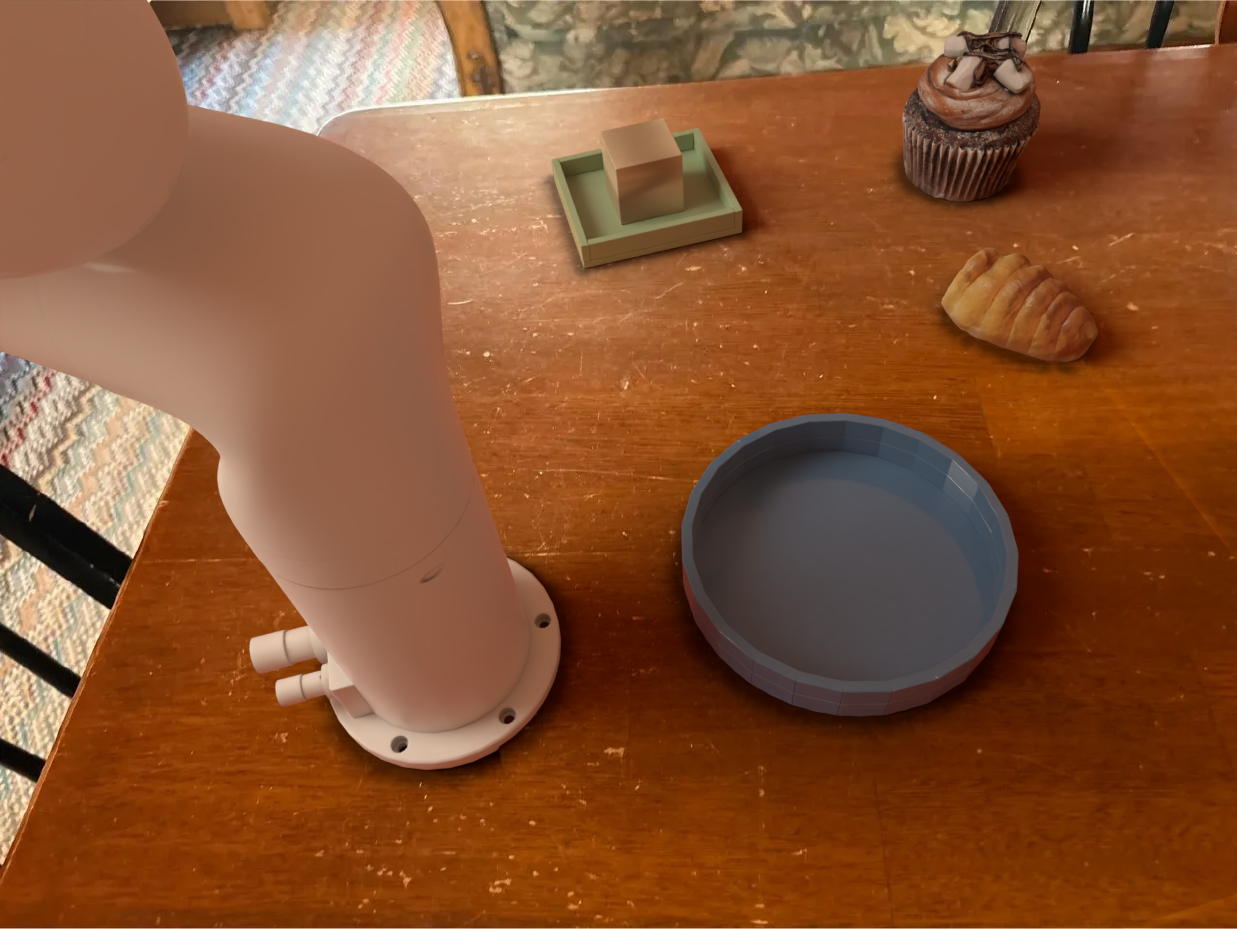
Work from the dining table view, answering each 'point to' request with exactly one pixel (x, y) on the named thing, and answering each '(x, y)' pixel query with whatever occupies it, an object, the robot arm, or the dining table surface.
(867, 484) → the bowl
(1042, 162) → the dining table surface
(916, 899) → the dining table surface
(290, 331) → the robot arm
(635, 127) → the block
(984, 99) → the cupcake
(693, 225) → the tray
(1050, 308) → the pastry
